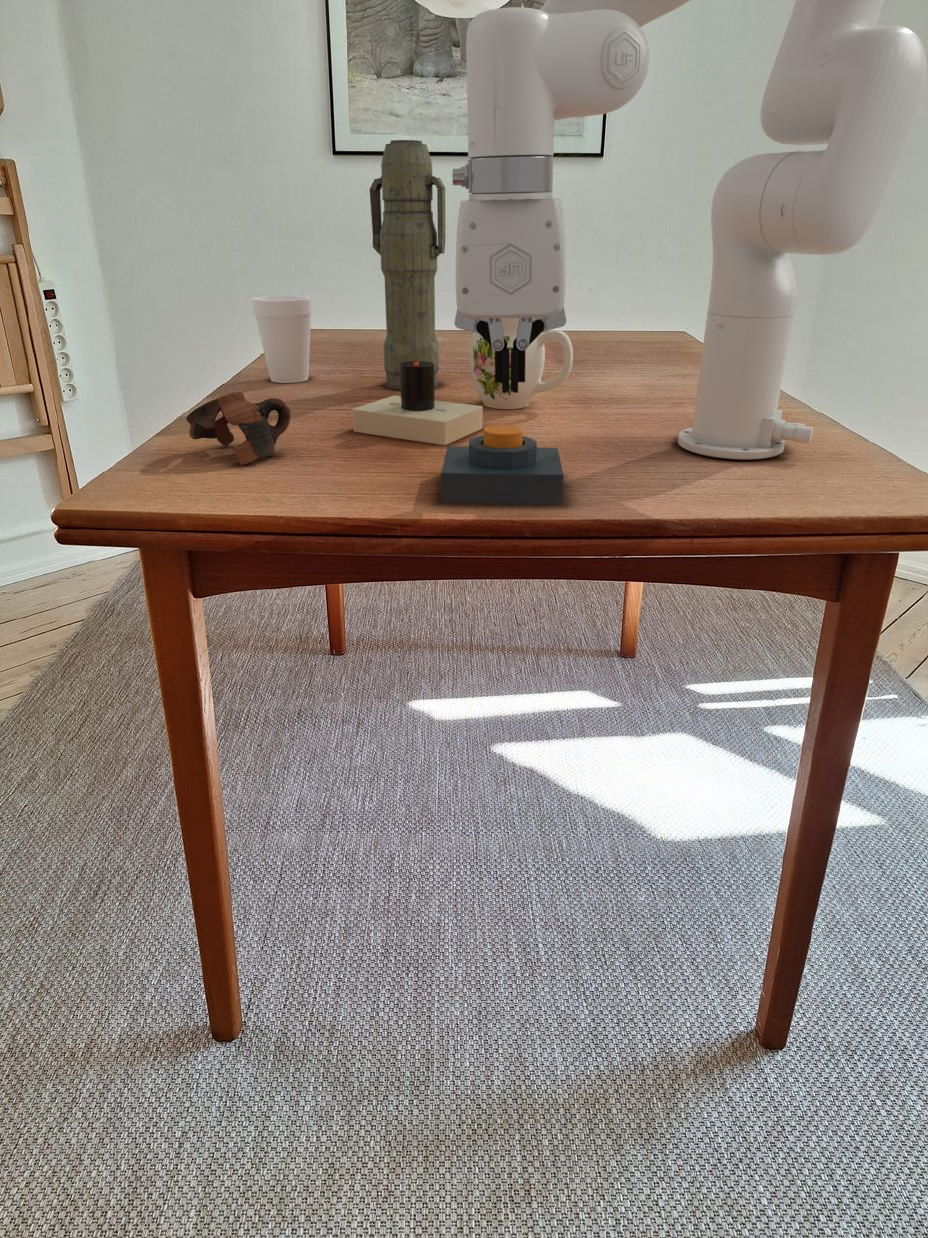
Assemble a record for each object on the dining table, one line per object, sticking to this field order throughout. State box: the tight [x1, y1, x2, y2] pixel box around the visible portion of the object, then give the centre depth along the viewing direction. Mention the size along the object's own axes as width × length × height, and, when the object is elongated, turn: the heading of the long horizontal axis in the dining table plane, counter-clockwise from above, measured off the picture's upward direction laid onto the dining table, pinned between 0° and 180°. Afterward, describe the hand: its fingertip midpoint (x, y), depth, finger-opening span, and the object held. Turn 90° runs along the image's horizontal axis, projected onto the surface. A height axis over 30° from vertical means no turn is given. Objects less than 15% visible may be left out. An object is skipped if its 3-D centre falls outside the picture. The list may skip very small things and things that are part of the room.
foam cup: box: [251, 294, 313, 384], centre depth 136 cm, size 10×9×13 cm
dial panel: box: [351, 394, 484, 446], centre depth 107 cm, size 14×10×3 cm
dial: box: [400, 361, 436, 411], centre depth 105 cm, size 4×4×6 cm
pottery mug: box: [185, 391, 292, 466], centre depth 97 cm, size 12×10×8 cm
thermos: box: [369, 139, 446, 391], centre depth 127 cm, size 9×12×35 cm
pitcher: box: [469, 317, 574, 410], centre depth 118 cm, size 11×18×14 cm, turn 65°
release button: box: [482, 424, 524, 448], centre depth 83 cm, size 4×4×2 cm
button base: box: [440, 435, 564, 506], centre depth 84 cm, size 12×10×5 cm
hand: (510, 389), depth 81 cm, fingers closed
